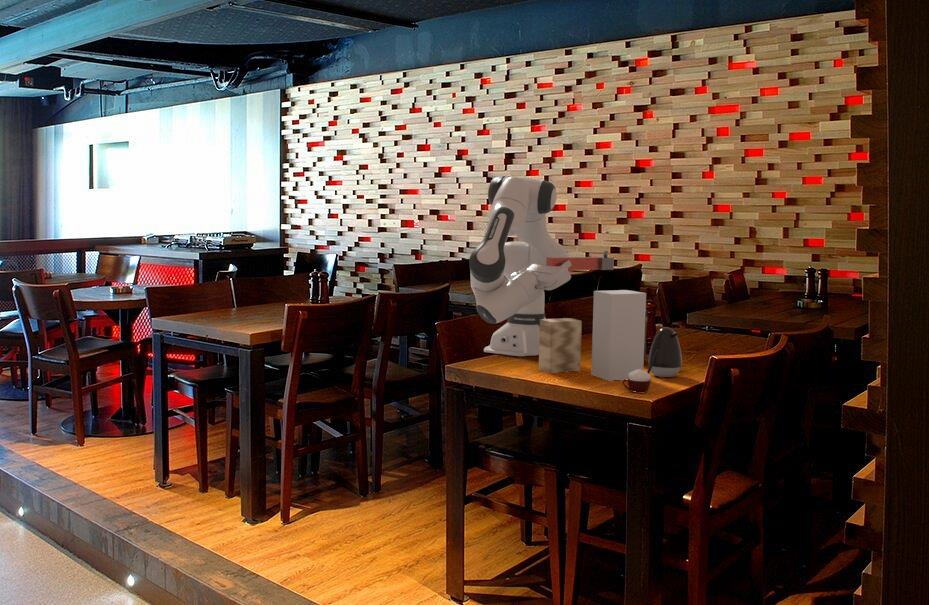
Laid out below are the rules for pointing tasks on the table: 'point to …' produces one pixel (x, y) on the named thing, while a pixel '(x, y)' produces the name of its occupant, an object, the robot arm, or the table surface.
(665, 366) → the grey rounded upright piece
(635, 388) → the cocoa
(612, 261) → the pin spanner
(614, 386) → the table surface
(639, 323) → the tall grey pillar block
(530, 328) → the robot arm
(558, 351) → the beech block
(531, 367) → the table surface
